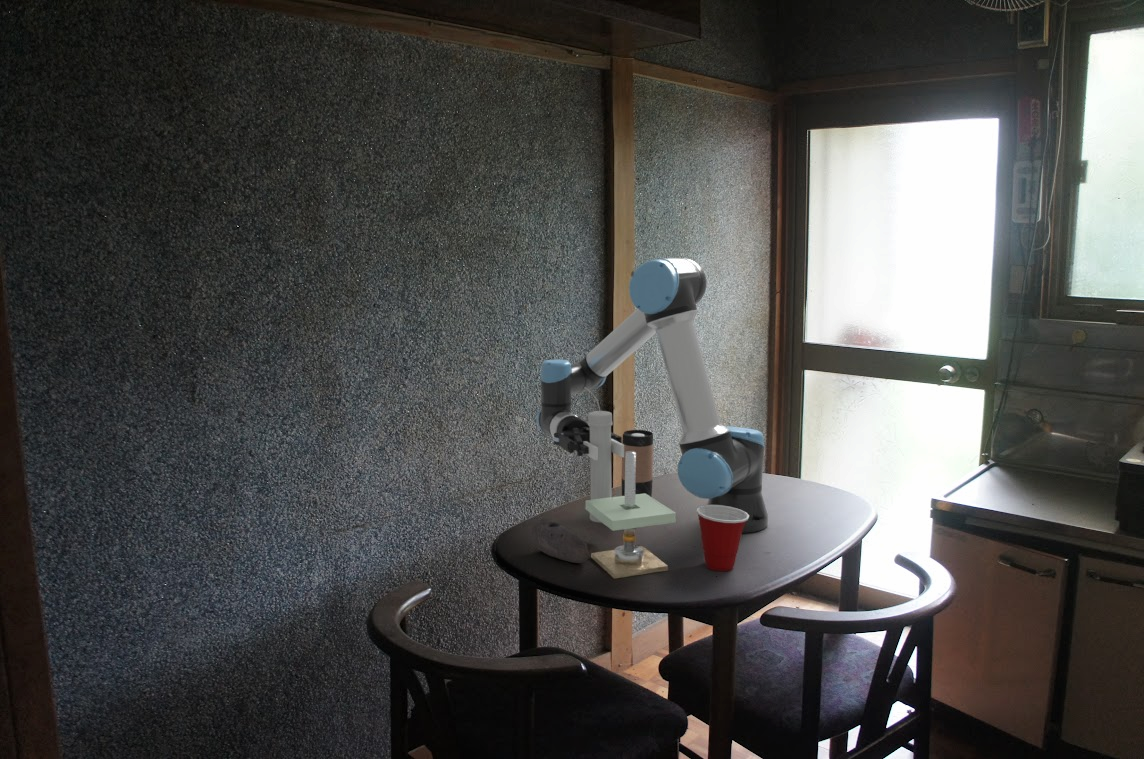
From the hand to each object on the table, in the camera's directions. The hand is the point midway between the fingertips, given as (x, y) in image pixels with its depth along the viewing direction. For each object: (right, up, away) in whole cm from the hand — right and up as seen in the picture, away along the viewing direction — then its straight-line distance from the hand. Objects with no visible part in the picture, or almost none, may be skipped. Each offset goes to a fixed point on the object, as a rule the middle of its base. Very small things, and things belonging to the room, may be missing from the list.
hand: (609, 452), depth 184 cm
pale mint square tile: (+4, -13, -7) cm, 15 cm away
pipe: (-2, -16, +7) cm, 17 cm away
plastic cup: (+23, -23, -6) cm, 33 cm away
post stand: (+4, -23, -5) cm, 24 cm away
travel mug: (+8, -17, +28) cm, 34 cm away
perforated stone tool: (-10, -23, -2) cm, 25 cm away
